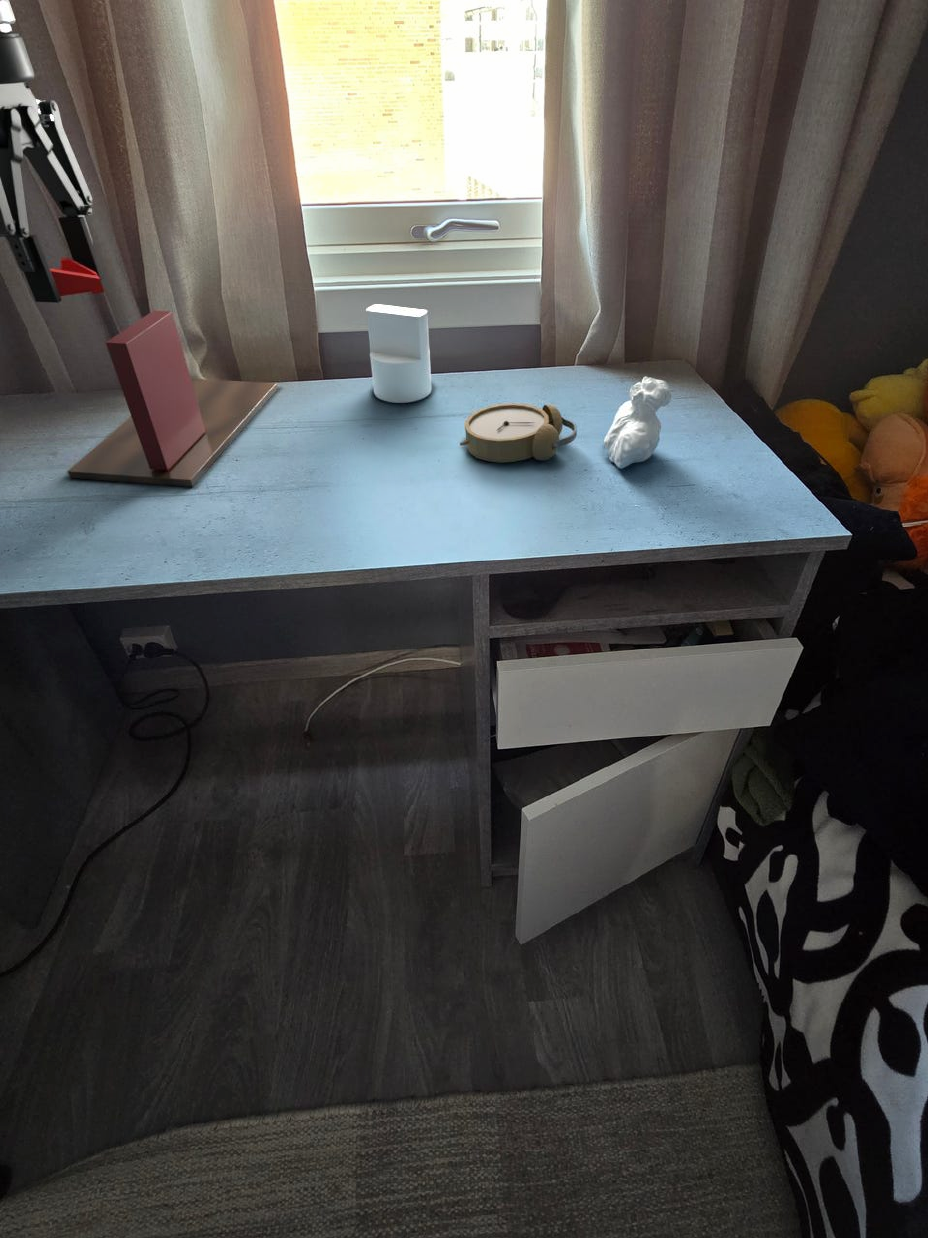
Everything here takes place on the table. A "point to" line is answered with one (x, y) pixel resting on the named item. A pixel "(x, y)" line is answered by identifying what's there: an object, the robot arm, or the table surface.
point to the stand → (223, 420)
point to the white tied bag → (637, 423)
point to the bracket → (75, 278)
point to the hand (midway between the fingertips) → (71, 289)
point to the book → (157, 388)
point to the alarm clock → (516, 432)
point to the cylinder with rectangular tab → (399, 353)
